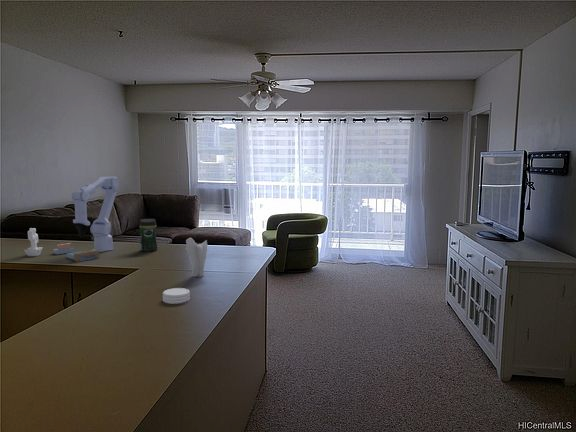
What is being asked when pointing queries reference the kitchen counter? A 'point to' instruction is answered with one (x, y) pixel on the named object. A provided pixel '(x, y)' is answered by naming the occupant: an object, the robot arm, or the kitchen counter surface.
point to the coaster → (176, 295)
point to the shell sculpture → (196, 256)
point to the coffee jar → (148, 235)
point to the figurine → (33, 243)
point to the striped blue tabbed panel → (83, 255)
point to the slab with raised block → (63, 248)
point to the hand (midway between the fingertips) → (82, 237)
